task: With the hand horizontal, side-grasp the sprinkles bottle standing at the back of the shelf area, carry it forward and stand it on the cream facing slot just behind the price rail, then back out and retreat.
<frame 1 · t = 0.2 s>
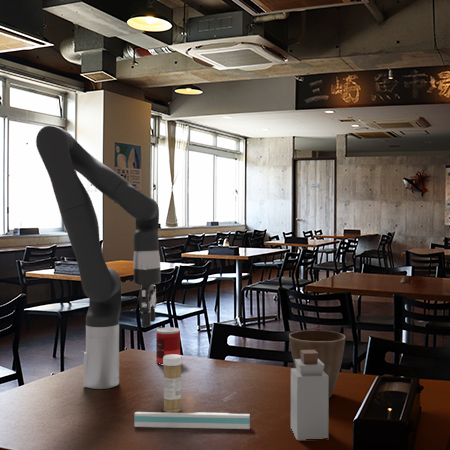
hand: (148, 324, 152), 17 cm above the table, tool pointing down, fingers open, 8 cm apart
price rail: (192, 427, 121), on the table
sprinkles bottle: (172, 411, 132), on the table
canned food: (168, 363, 178), on the table
plant pot: (316, 395, 144), on the table
perfume bottle: (309, 434, 118), on the table
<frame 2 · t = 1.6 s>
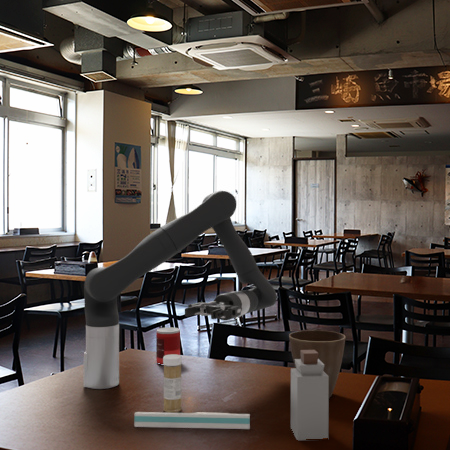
hand: (198, 313, 141), 22 cm above the table, tool horizontal, fingers open, 8 cm apart
nothing on the table moved.
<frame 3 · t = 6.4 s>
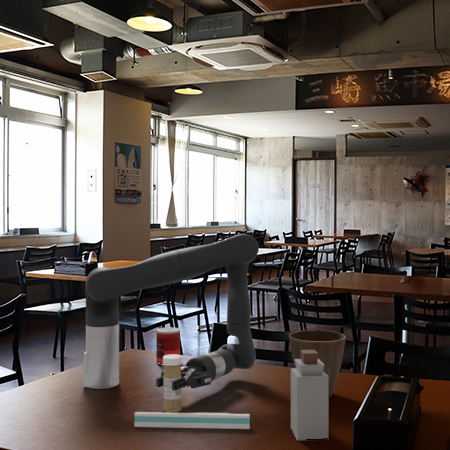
hand: (165, 384, 130), 7 cm above the table, tool horizontal, fingers closed on sprinkles bottle, 4 cm apart
sprinkles bottle: (172, 411, 132), on the table, touching gripper
everything else where it was.
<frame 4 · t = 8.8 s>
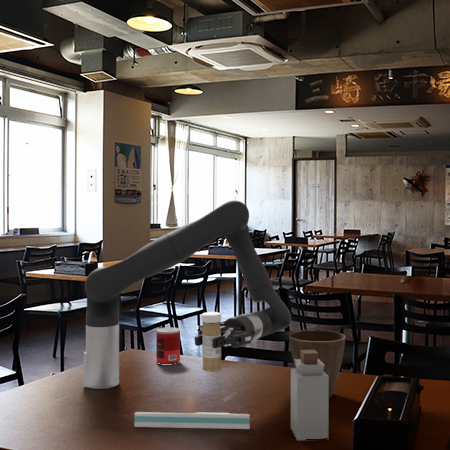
hand: (205, 342, 124), 19 cm above the table, tool horizontal, fingers closed on sprinkles bottle, 4 cm apart
sprinkles bottle: (211, 371, 126), point 11 cm above the table, touching gripper
everything else where it was.
when the fingers open (8 cm above the table, at t = 11.5 s): sprinkles bottle stays where it is, resting on price rail.
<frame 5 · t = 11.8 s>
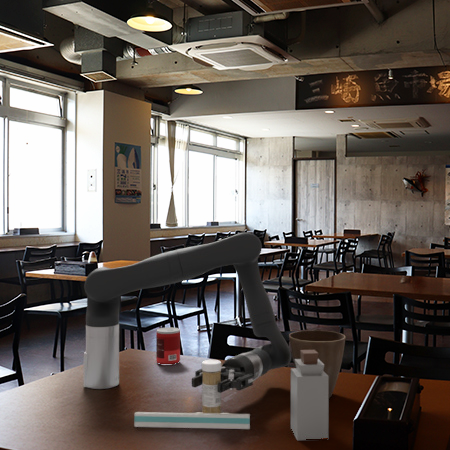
hand: (205, 385, 124), 8 cm above the table, tool horizontal, fingers open, 6 cm apart
sprinkles bottle: (211, 419, 126), resting on price rail
everything else where it was.
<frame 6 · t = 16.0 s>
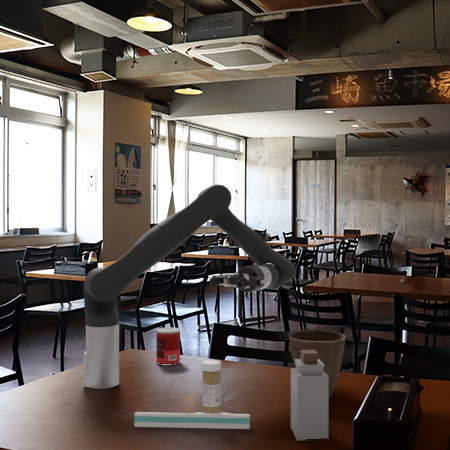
hand: (224, 283, 144), 30 cm above the table, tool horizontal, fingers open, 8 cm apart
nothing on the table moved.
at the end: sprinkles bottle inside the target area (0.1 cm from its centre), resting on price rail; sprinkles bottle tilted 0°; the gripper is holding nothing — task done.
